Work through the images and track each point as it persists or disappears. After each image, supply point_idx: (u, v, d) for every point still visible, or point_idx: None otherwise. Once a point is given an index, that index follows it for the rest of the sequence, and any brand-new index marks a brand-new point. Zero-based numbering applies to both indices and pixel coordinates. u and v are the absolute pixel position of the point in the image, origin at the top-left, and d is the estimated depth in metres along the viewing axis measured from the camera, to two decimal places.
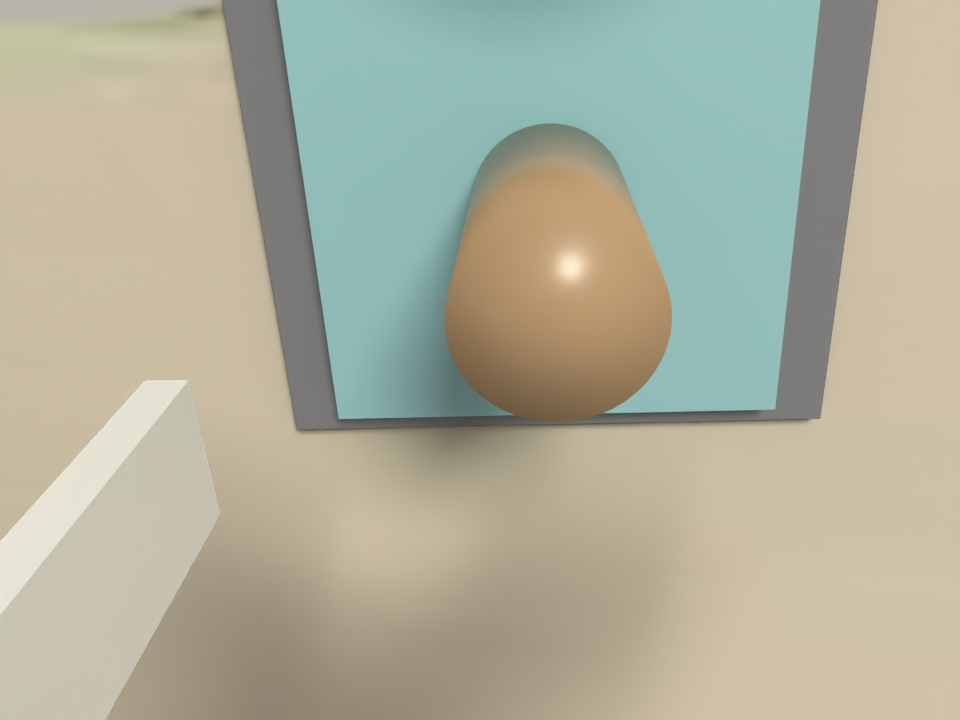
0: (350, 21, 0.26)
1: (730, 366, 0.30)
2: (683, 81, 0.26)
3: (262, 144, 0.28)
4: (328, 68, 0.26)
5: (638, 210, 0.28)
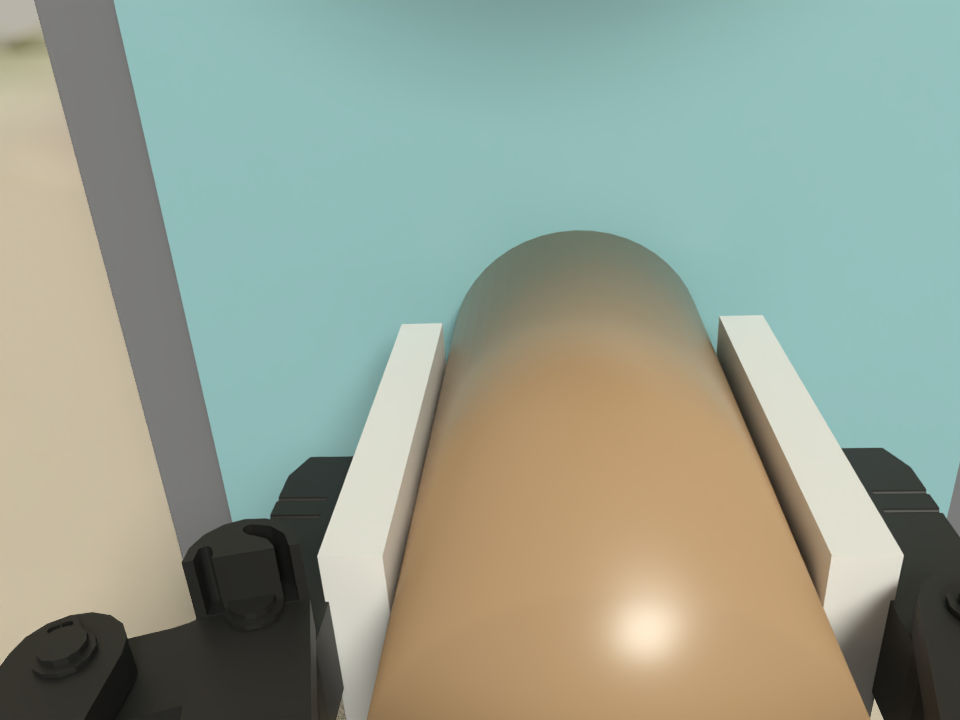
0: (246, 65, 0.15)
1: None
2: (807, 165, 0.15)
3: (124, 251, 0.18)
4: (212, 140, 0.16)
5: None
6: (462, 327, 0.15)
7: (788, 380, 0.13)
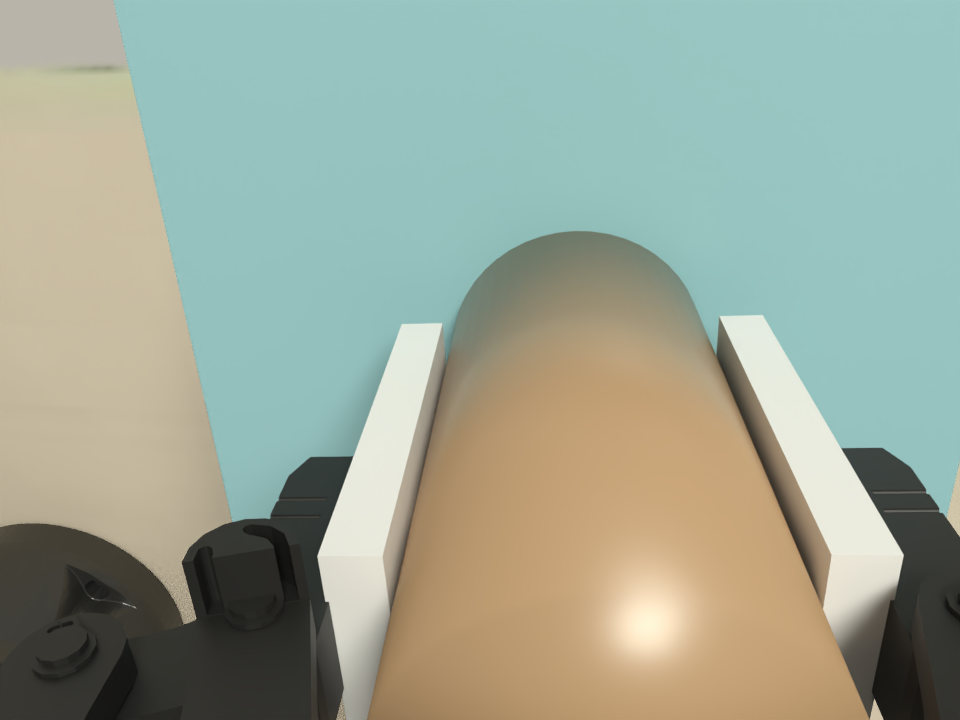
0: (246, 66, 0.15)
1: None
2: (807, 166, 0.15)
3: None
4: (213, 141, 0.16)
5: None
6: (462, 328, 0.15)
7: (788, 380, 0.13)
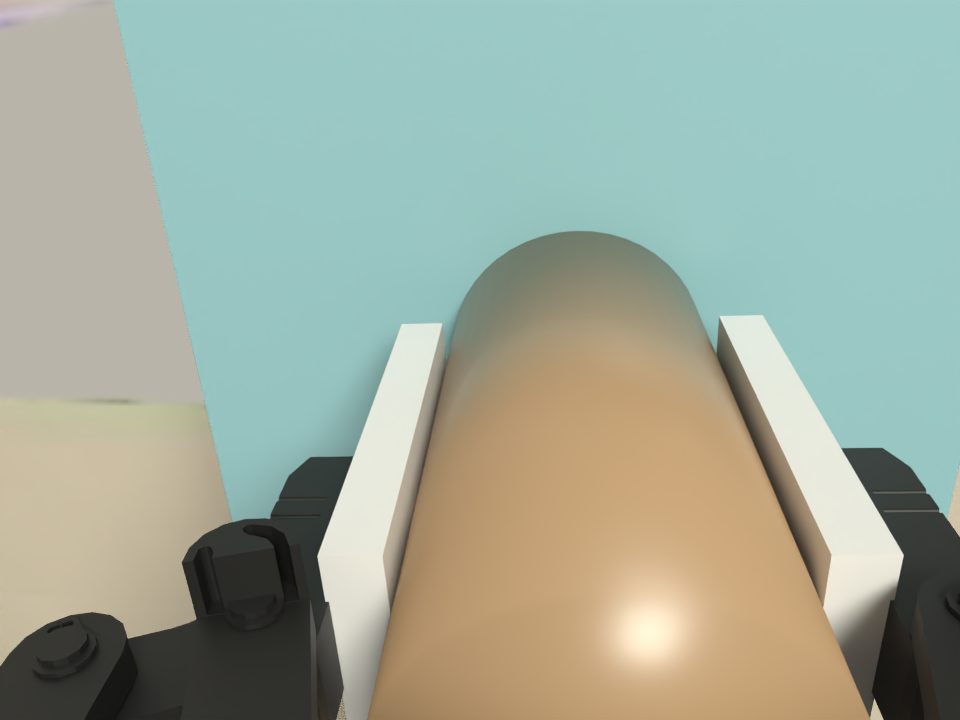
0: (246, 65, 0.15)
1: None
2: (807, 166, 0.15)
3: None
4: (212, 141, 0.16)
5: None
6: (462, 328, 0.15)
7: (788, 380, 0.13)
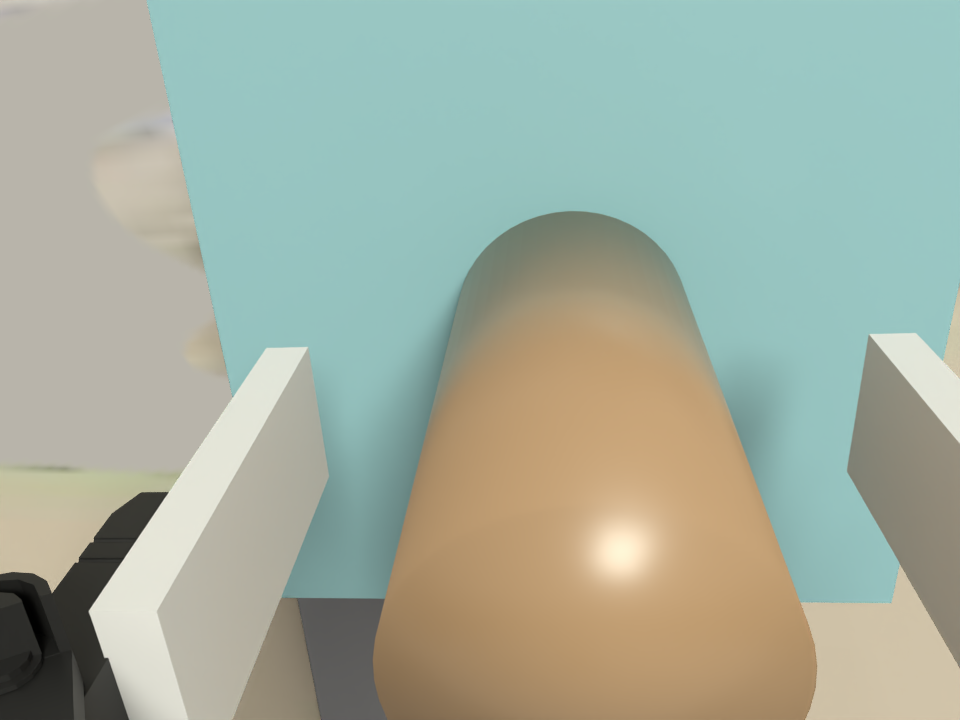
0: (266, 58, 0.16)
1: (830, 546, 0.21)
2: (783, 151, 0.17)
3: None
4: (236, 127, 0.17)
5: (705, 336, 0.18)
6: (465, 299, 0.16)
7: None
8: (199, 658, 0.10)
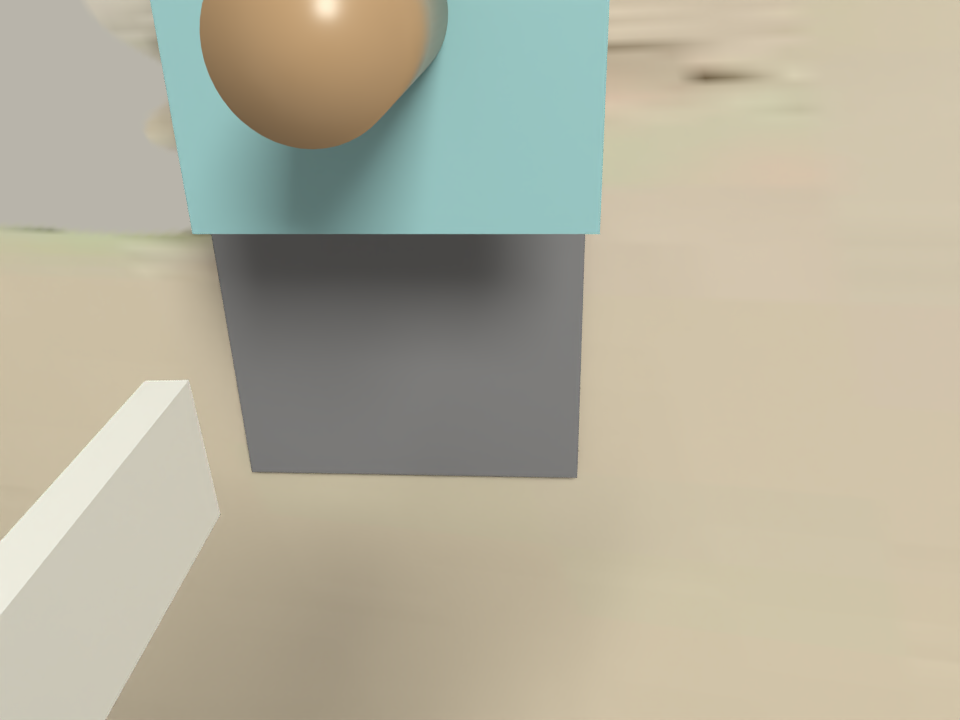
0: None
1: (555, 188, 0.32)
2: None
3: (232, 306, 0.47)
4: None
5: (460, 23, 0.29)
6: None
7: None
8: None
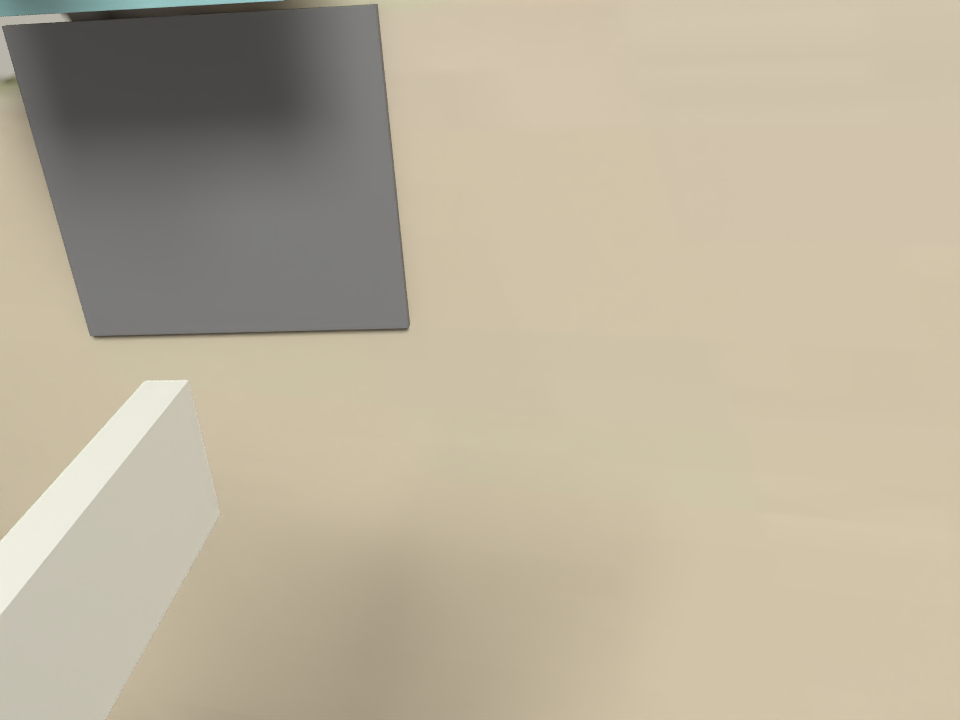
0: None
1: None
2: None
3: (48, 157, 0.48)
4: None
5: None
6: None
7: None
8: None
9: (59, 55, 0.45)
